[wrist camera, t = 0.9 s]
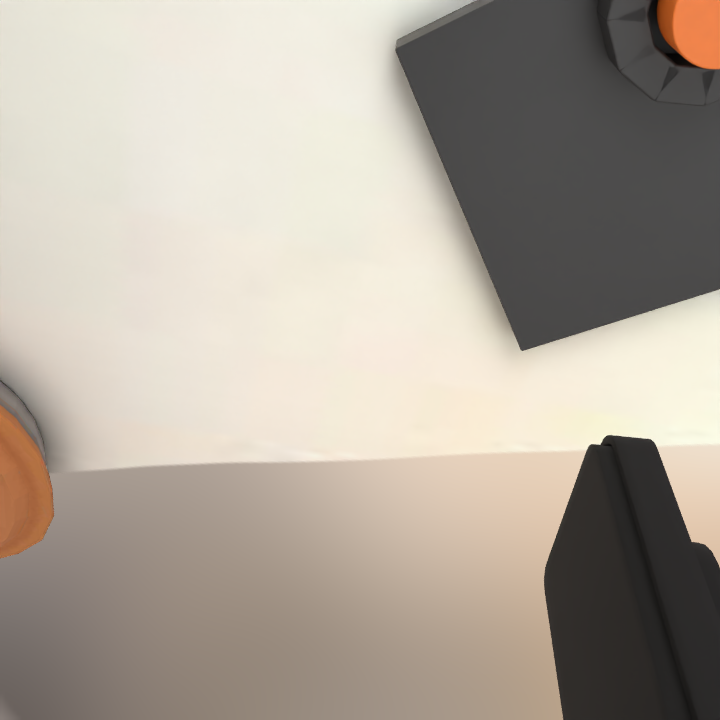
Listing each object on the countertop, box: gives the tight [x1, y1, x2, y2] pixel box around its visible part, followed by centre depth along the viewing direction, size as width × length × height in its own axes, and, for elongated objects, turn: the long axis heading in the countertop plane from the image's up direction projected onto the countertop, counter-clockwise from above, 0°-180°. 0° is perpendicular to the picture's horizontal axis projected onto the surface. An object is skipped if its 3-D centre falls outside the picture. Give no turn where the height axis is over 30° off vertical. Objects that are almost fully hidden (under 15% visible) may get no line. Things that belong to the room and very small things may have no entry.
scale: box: [396, 0, 720, 351], centre depth 25 cm, size 14×13×3 cm
